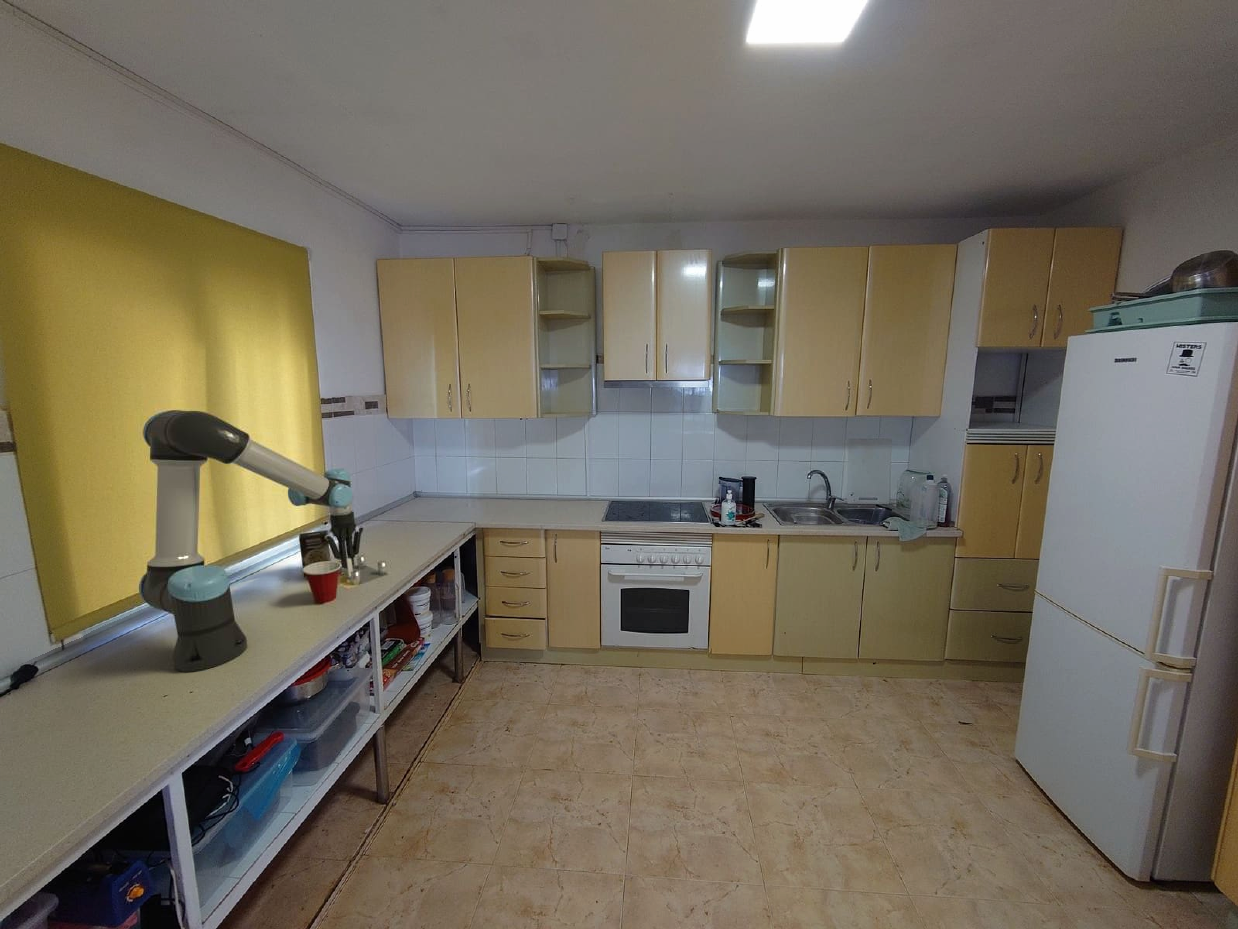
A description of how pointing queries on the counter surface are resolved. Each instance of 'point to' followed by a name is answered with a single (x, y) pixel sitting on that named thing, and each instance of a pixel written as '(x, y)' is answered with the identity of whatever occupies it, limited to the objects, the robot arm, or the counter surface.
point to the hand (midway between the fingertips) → (349, 575)
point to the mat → (363, 577)
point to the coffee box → (314, 548)
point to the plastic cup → (323, 580)
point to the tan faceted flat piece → (342, 578)
